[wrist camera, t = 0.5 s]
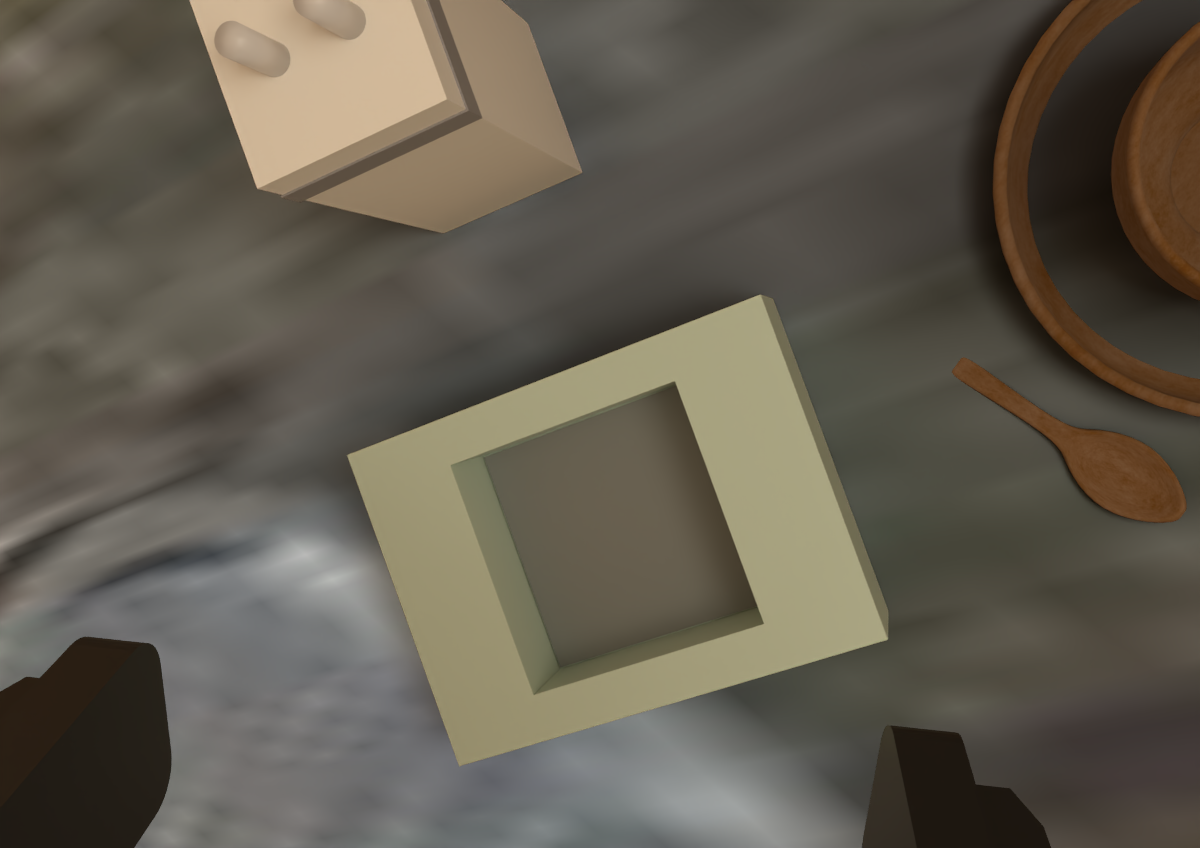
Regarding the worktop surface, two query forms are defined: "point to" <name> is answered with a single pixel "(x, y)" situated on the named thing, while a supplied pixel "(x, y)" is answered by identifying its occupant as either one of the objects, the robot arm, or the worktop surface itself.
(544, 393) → the green rectangular tray
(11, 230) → the worktop surface
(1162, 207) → the place setting
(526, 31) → the block
